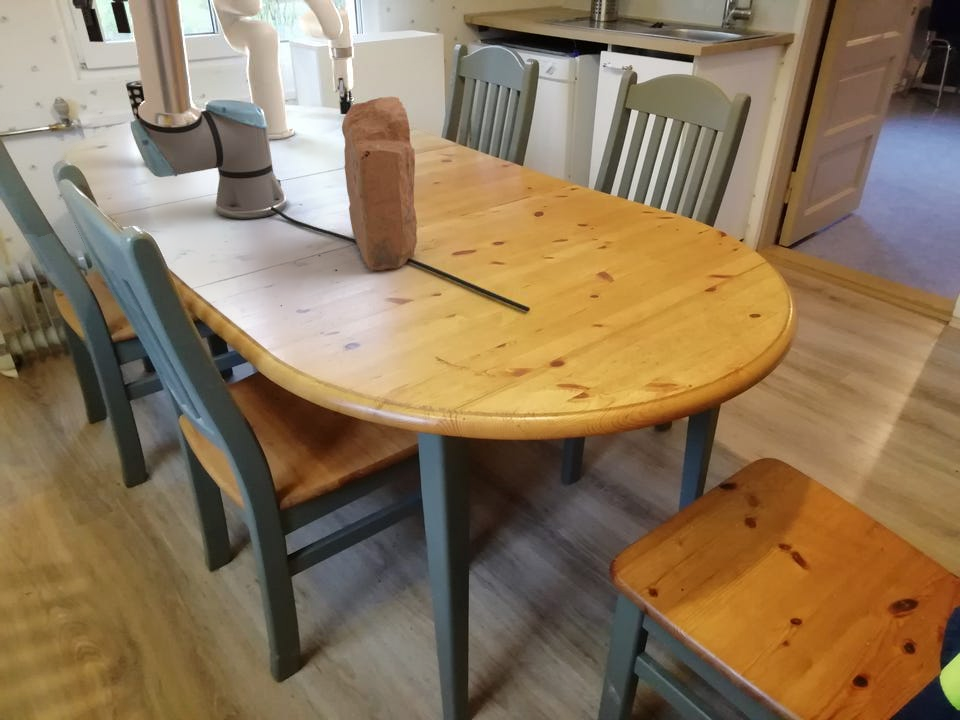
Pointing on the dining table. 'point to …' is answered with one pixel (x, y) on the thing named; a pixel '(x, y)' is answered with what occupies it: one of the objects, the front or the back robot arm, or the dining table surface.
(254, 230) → the dining table surface
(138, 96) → the polka dot cylinder
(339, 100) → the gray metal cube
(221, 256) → the dining table surface
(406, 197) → the stone
